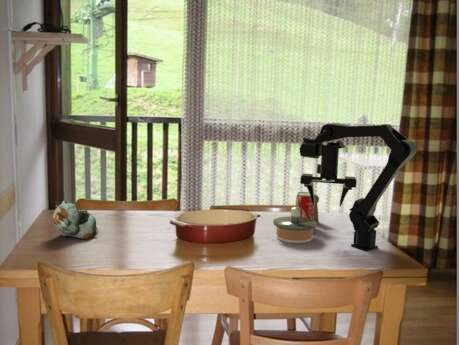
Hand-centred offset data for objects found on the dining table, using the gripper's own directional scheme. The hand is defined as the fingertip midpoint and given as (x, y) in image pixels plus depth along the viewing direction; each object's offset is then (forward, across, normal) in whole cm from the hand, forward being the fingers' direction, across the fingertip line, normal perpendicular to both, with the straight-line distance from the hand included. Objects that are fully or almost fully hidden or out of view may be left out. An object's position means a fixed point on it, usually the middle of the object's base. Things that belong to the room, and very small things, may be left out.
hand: (326, 204), depth 182 cm
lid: (+7, +10, +3) cm, 13 cm away
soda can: (+12, +8, -12) cm, 19 cm away
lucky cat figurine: (+12, +82, +24) cm, 86 cm away
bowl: (+12, +10, +3) cm, 16 cm away
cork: (+12, +6, -21) cm, 25 cm away
